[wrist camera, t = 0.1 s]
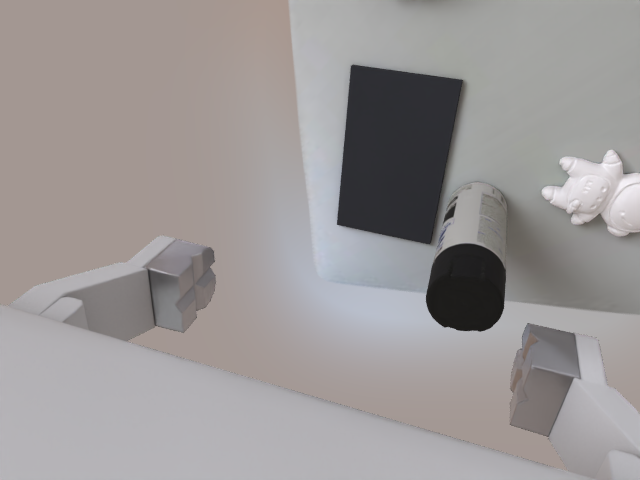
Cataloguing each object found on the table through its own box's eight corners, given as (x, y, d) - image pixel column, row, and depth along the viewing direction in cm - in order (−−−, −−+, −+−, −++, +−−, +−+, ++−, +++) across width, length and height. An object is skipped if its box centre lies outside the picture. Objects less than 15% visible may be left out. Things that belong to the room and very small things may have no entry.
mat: (352, 64, 59) (351, 65, 58) (462, 79, 56) (462, 81, 55) (338, 222, 69) (336, 224, 69) (430, 242, 66) (430, 244, 66)
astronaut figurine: (576, 132, 55) (579, 141, 52) (687, 182, 54) (695, 194, 51) (530, 200, 60) (531, 212, 57) (631, 247, 59) (636, 261, 56)
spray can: (449, 178, 62) (424, 268, 45) (511, 181, 60) (508, 277, 43) (446, 229, 65) (421, 330, 48) (505, 234, 63) (500, 342, 46)
